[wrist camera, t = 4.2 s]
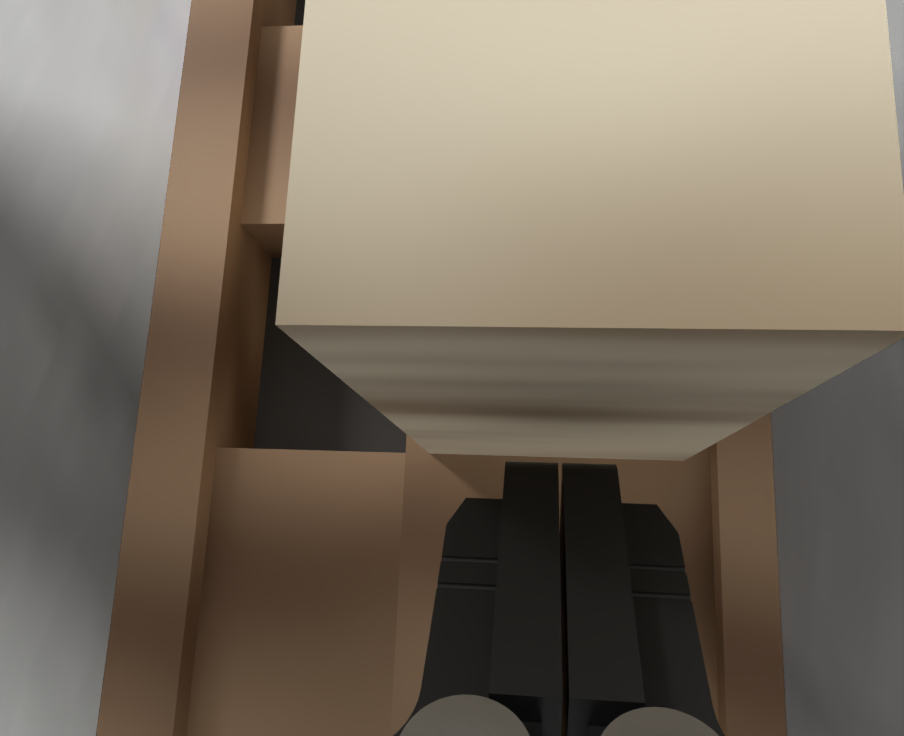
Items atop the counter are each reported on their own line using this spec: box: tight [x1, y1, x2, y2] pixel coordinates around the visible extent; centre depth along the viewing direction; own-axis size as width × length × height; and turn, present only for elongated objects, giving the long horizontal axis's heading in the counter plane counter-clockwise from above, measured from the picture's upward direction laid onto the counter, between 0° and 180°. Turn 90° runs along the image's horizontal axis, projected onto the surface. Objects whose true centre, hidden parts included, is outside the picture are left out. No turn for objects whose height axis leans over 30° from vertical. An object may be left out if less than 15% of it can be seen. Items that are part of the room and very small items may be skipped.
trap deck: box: [96, 0, 787, 736], centre depth 17 cm, size 30×12×6 cm, turn 178°
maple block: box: [275, 0, 904, 461], centre depth 12 cm, size 10×5×10 cm, turn 178°
